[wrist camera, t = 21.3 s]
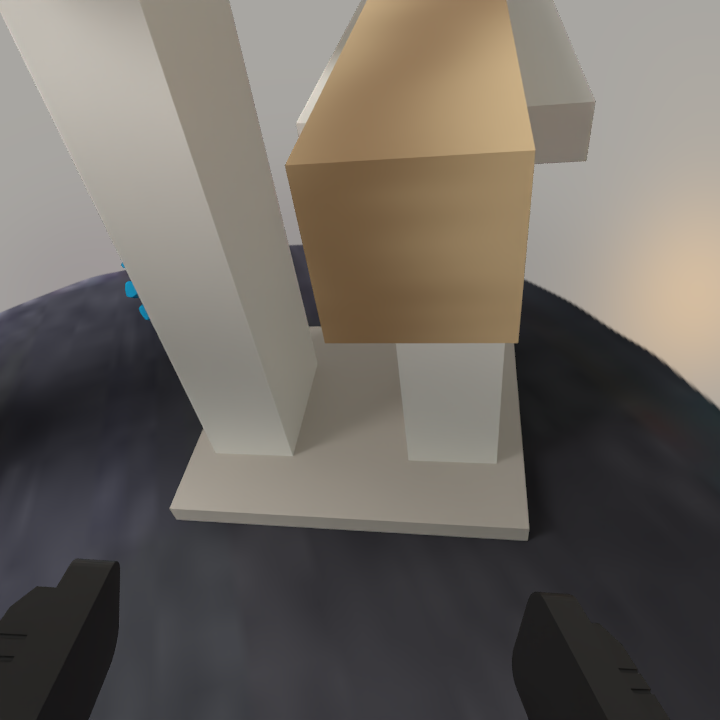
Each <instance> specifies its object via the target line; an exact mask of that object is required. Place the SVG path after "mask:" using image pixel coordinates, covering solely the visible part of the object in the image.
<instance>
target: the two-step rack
mask: <svg viewBox="0 0 720 720" xmlns="http://www.w3.org/2000/svg"><path fill="white" fill-rule="evenodd" d="M366 1H367V0H361V2H360V4H359V6H358V8H357V9H356V11H355V13H354V15H353V17H352V19H351V21H350V23H349V25H348V26H347V28H346V30H345V32H344V34H343V36H342V38H341V40H340V41H339V43H338V45H337V47H336V49H335V51H334V53H333V55H332V57H331V59H330V60H329V62H328V64H327V66H326V68H325V70H324V72H323V74H322V75H321V77H320V79H319V81H318V83H317V85H316V87H315V89H314V91H313V93H312V94H311V96H310V98H309V100H308V102H307V104H306V106H305V107H304V109H303V111H302V113H301V115H300V117H299V119H298V121H297V122H296V126H297V131H298V137H299V136H300V134H301V132H302V130H303V128H304V126H305V124H306V122H307V120H308V118H309V116H310V114H311V112H312V110H313V108H314V106H315V104H316V102H317V100H318V98H319V96H320V94H321V92H322V90H323V88H324V86H325V84H326V82H327V80H328V78H329V76H330V74H331V72H332V70H333V68H334V66H335V64H336V62H337V60H338V58H339V56H340V54H341V52H342V50H343V48H344V46H345V44H346V42H347V40H348V38H349V36H350V34H351V32H352V30H353V28H354V25H355V23H356V21H357V19H358V17H359V15H360V13H361V11H362V9H363V7H364V5H365V3H366ZM506 1H507V6H508V11H509V16H510V22H511V27H512V32H513V37H514V42H515V47H516V52H517V58H518V63H519V68H520V73H521V78H522V83H523V88H524V94H525V99H526V104H527V109H528V114H529V119H530V124H531V129H532V135H533V140H534V145H535V150H536V151H535V162H534V164H543V163H561V162H578V161H579V162H580V161H586V160H587V153H588V147H589V140H590V134H591V128H592V121H593V114H594V109H595V102H596V101H595V99H594V97H593V94H592V92H591V89H590V87H589V85H588V82H587V80H586V77H585V75H584V73H583V71H582V68H581V66H580V63H579V61H578V58H577V56H576V54H575V51H574V49H573V47H572V44H571V42H570V40H569V37H568V35H567V32H566V30H565V27H564V25H563V23H562V20H561V18H560V15H559V14H558V11H557V8H556V6H555V4H554V1H553V0H506ZM0 13H1V15H2V17H3V19H4V21H5V23H6V26H7V27H8V30H9V32H10V34H11V36H12V38H13V40H14V42H15V44H16V46H17V48H18V50H19V52H20V54H21V56H22V58H23V60H24V62H25V64H26V66H27V68H28V70H29V73H30V74H31V76H32V79H33V81H34V83H35V85H36V87H37V89H38V91H39V93H40V95H41V97H42V99H43V101H44V103H45V105H46V107H47V109H48V111H49V113H50V116H51V118H52V120H53V121H54V124H55V126H56V128H57V130H58V132H59V134H60V136H61V138H62V140H63V142H64V144H65V146H66V148H67V150H68V152H69V154H70V156H71V158H72V161H73V162H74V165H75V166H76V169H77V171H78V173H79V175H80V177H81V179H82V181H83V183H84V185H85V187H86V189H87V191H88V193H89V195H90V197H91V199H92V201H93V203H94V206H95V208H96V210H97V212H98V214H99V216H100V218H101V219H102V222H103V224H104V226H105V228H106V230H107V232H108V234H109V236H110V238H111V240H112V242H113V244H114V246H115V248H116V250H117V252H118V255H119V257H120V259H121V261H122V263H123V265H124V267H125V269H126V271H127V273H128V275H129V277H130V279H131V281H132V283H133V285H134V287H135V289H136V291H137V294H138V296H139V298H140V300H141V302H142V304H143V306H144V308H145V310H146V312H147V314H148V316H149V318H150V320H151V322H152V324H153V326H154V328H155V330H156V332H157V334H158V336H159V339H160V341H161V343H162V345H163V347H164V349H165V351H166V353H167V355H168V357H169V359H170V361H171V363H172V365H173V367H174V369H175V371H176V373H177V375H178V377H179V379H180V381H181V384H182V386H183V388H184V390H185V392H186V394H187V396H188V398H189V400H190V402H191V404H192V406H193V408H194V410H195V412H196V414H197V416H198V418H199V420H200V422H201V424H202V426H203V430H202V433H201V435H200V437H199V440H198V442H197V445H196V447H195V449H194V452H193V454H192V456H191V459H190V461H189V464H188V466H187V468H186V471H185V473H184V475H183V478H182V480H181V483H180V485H179V487H178V490H177V492H176V494H175V497H174V499H173V502H172V504H171V506H170V510H171V512H172V513H173V515H174V516H175V518H176V519H177V520H191V521H207V522H224V523H240V524H257V525H274V526H290V527H307V528H323V529H340V530H356V531H373V532H389V533H406V534H423V535H439V536H456V537H472V538H489V539H505V540H522V541H528V535H529V518H528V506H527V494H526V482H525V470H524V458H523V446H522V434H521V422H520V410H519V398H518V386H517V374H516V362H515V350H514V343H325V342H324V337H323V333H322V328H321V327H309V326H308V322H307V318H306V314H305V309H304V305H303V301H302V297H301V293H300V289H299V285H298V281H297V277H296V273H295V268H294V264H293V260H292V256H291V252H290V248H289V244H288V240H287V236H286V232H285V227H284V224H283V219H282V215H281V211H280V207H279V203H278V199H277V195H276V191H275V186H274V182H273V179H272V174H271V170H270V166H269V162H268V158H267V154H266V150H265V145H264V142H263V137H262V133H261V129H260V125H259V121H258V117H257V113H256V109H255V104H254V101H253V96H252V92H251V88H250V84H249V80H248V76H247V72H246V68H245V63H244V59H243V55H242V51H241V47H240V43H239V39H238V35H237V31H236V26H235V22H234V18H233V14H232V10H231V6H230V2H229V0H0Z"/></svg>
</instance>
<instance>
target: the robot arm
mask: <svg viewBox="0 0 720 720" xmlns="http://www.w3.org/2000/svg"><path fill="white" fill-rule="evenodd" d="M119 593H120V565H119V563H118V562H117V561H105V560H90V559H75V560H73V561H72V563H71V564H70V566H69V567H68V569H67V571H66V572H65V574H64V576H63V577H62V579H61V581H60V582H59V584H58V586H57V587H56V588H53V587H38V586H37V587H35V588H34V589H33V590H32V591H30V592H29V593H28V594H26V595H25V596H24V597H22V598H21V599H20V600H19V601H17V602H16V603H15V604H13V605H12V606H11V607H10V608H9V609H8V610H7V612H6V613H5V615H4V616H3V618H2V619H1V621H0V720H88V719H89V717H90V714H91V712H92V709H93V707H94V704H95V702H96V699H97V697H98V694H99V692H100V689H101V687H102V684H103V682H104V679H105V677H106V675H107V672H108V670H109V667H110V664H111V662H112V659H113V655H114V651H115V647H116V643H117V637H118V629H119ZM512 670H513V677H514V682H515V685H516V688H517V691H518V693H519V696H520V698H521V701H522V703H523V706H524V709H525V711H526V714H527V716H528V719H529V720H670V719H669V717H668V716H667V714H666V713H665V711H664V709H663V708H662V706H661V705H660V703H659V702H658V700H657V699H656V697H655V695H652V694H651V692H650V690H651V689H650V688H649V686H648V685H647V683H646V681H645V680H644V678H643V677H642V675H641V674H638V672H637V667H636V666H635V664H634V663H633V661H632V660H631V658H630V657H629V655H628V653H627V652H626V650H625V649H624V647H623V646H622V644H620V643H619V642H618V641H617V640H616V639H615V638H614V637H613V636H612V635H611V634H610V633H609V632H608V631H606V630H605V629H604V628H603V627H602V626H601V625H600V624H598V623H591V622H590V621H589V619H588V617H587V616H586V614H585V612H584V611H583V609H582V608H581V606H580V604H579V603H578V601H577V600H576V598H575V597H574V596H572V595H570V594H559V593H545V592H534V593H532V594H531V595H530V597H529V599H528V602H527V606H526V609H525V613H524V616H523V619H522V623H521V626H520V629H519V633H518V636H517V639H516V643H515V646H514V650H513V655H512Z"/></svg>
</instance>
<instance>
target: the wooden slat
mask: <svg viewBox="0 0 720 720" xmlns="http://www.w3.org/2000/svg"><path fill="white" fill-rule="evenodd" d="M535 151H536V150H535V145H534V140H533V135H532V129H531V124H530V119H529V114H528V109H527V104H526V99H525V94H524V88H523V83H522V78H521V73H520V68H519V63H518V58H517V52H516V47H515V42H514V37H513V32H512V27H511V22H510V16H509V11H508V6H507V1H506V0H367V1H366V3H365V5H364V7H363V9H362V11H361V13H360V15H359V17H358V19H357V21H356V23H355V25H354V28H353V30H352V32H351V34H350V36H349V38H348V40H347V42H346V44H345V46H344V48H343V50H342V52H341V54H340V56H339V58H338V60H337V62H336V64H335V66H334V68H333V70H332V72H331V74H330V76H329V78H328V80H327V82H326V84H325V86H324V88H323V90H322V92H321V94H320V96H319V98H318V100H317V102H316V104H315V106H314V108H313V110H312V112H311V114H310V116H309V118H308V120H307V122H306V124H305V126H304V128H303V130H302V132H301V134H300V136H299V138H298V140H297V142H296V144H295V146H294V149H293V150H292V152H291V154H290V156H289V158H288V160H287V162H286V164H285V167H286V172H287V177H288V181H289V185H290V189H291V194H292V199H293V203H294V208H295V212H296V217H297V221H298V225H299V230H300V234H301V239H302V243H303V248H304V252H305V257H306V261H307V266H308V270H309V275H310V279H311V284H312V288H313V293H314V297H315V301H316V306H317V310H318V315H319V319H320V324H321V328H322V333H323V337H324V342H325V343H518V340H519V329H520V317H521V306H522V295H523V284H524V273H525V261H526V251H527V240H528V228H529V217H530V205H531V194H532V183H533V173H534V162H535Z"/></svg>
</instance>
